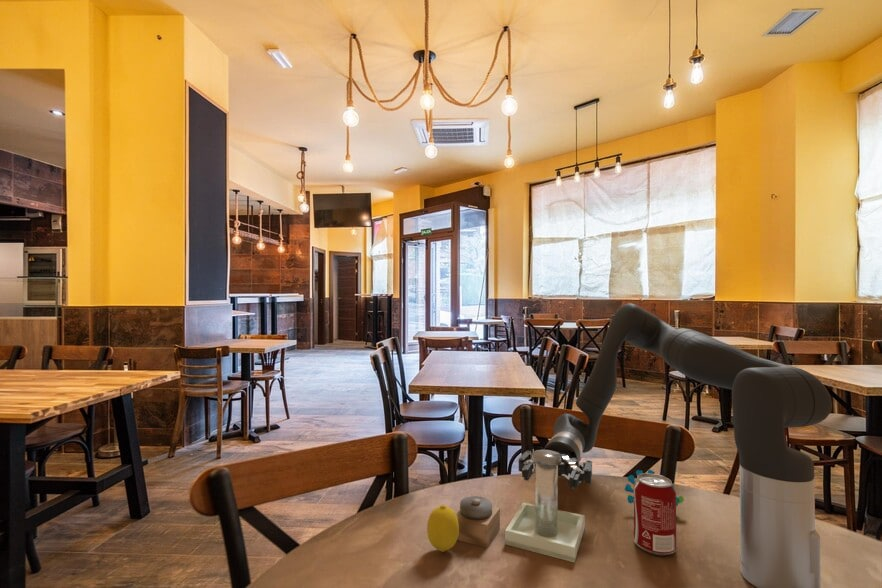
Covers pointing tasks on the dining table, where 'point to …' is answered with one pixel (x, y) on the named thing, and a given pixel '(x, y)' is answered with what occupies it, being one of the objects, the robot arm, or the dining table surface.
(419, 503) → the dining table surface
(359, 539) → the dining table surface
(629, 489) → the gear
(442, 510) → the lemon
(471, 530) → the pulley stand
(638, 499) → the soda can
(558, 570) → the dining table surface
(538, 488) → the pin
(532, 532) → the tray
